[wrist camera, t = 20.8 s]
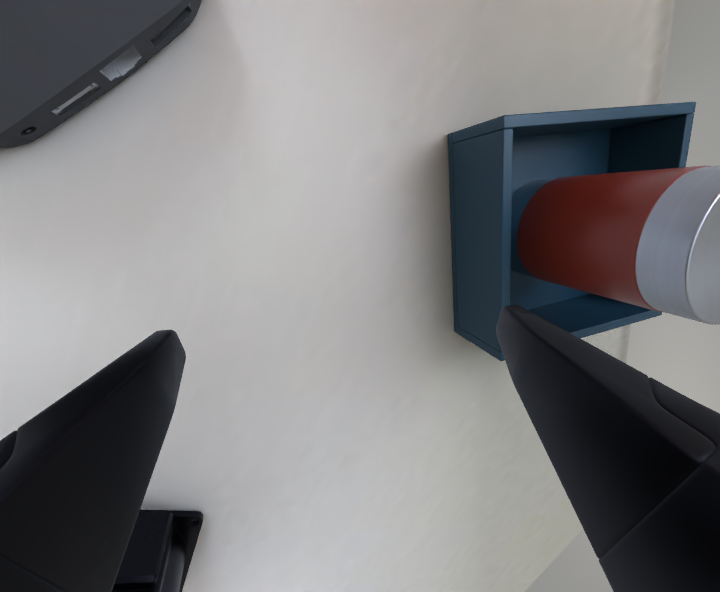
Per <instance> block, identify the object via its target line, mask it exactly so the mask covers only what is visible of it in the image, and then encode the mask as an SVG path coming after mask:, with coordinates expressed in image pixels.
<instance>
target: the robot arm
mask: <svg viewBox="0 0 720 592" xmlns="http://www.w3.org/2000/svg"><path fill="white" fill-rule="evenodd" d="M496 334H497V338H498V341H499V344H500V346H501V349H502V352H503V355H504V358H505V361H506V364H507V367H508V369H509V372H510V375H511V378H512V380H513V383H514V385H515V387H516V390H517V392H518V394H519V396H520V398H521V400H522V402H523V404H524V406H525V408H526V410H527V412H528V415H529V417H530V419H531V421H532V423H533V425H534V427H535V429H536V431H537V433H538V435H539V437H540V439H541V441H542V444H543V446H544V448H545V450H546V452H547V454H548V456H549V458H550V460H551V462H552V464H553V466H554V468H555V471H556V473H557V475H558V477H559V479H560V481H561V483H562V485H563V487H564V489H565V491H566V493H567V495H568V497H569V500H570V502H571V504H572V506H573V508H574V510H575V512H576V514H577V516H578V518H579V520H580V522H581V524H582V526H583V529H584V531H585V533H586V535H587V537H588V539H589V541H590V543H591V545H592V547H593V549H594V551H595V553H596V555H597V557H598V558H599V562H600V564H601V566H602V568H603V571H604V572H605V574H606V577H607V579H608V581H609V583H610V585H611V587H612V589H613V591H614V592H720V414H719V413H717V412H715V411H713V410H711V409H709V408H707V407H705V406H703V405H701V404H699V403H697V402H695V401H693V400H692V399H689V398H688V397H686V396H684V395H682V394H680V393H678V392H676V391H675V390H673V389H671V388H669V387H667V386H665V385H664V384H662V383H660V382H658V381H656V380H654V379H653V378H648V376H647V375H645V374H643V373H642V372H640V371H638V370H636V369H634V368H633V367H631V366H629V365H627V364H625V363H623V362H622V361H620V360H618V359H616V358H614V357H613V356H611V355H609V354H607V353H605V352H603V351H602V350H600V349H598V348H596V347H594V346H593V345H591V344H589V343H587V342H585V341H583V340H582V339H580V338H578V337H576V336H574V335H573V334H571V333H569V332H567V331H565V330H563V329H562V328H560V327H558V326H556V325H554V324H553V323H551V322H549V321H547V320H545V319H543V318H542V317H540V316H538V315H536V314H534V313H533V312H531V311H529V310H527V309H525V308H523V307H522V306H520V305H507V306H504V307H503V308H502V309H501V313H500V316H499V320H498V324H497V328H496ZM185 359H186V355H185V351H184V348H183V346H182V344H181V342H180V340H179V338H178V335H177V334H176V332H175V331H173V330H161V331H156V332H155V333H153V334H152V335H150V336H149V337H148V338H146V339H145V340H143V341H142V342H140V343H139V344H138V345H136V346H135V347H133V348H132V349H130V350H129V351H128V352H126V353H125V354H123V355H122V356H121V357H119V358H118V359H116V360H115V361H113V362H112V363H111V364H109V365H108V366H106V367H105V368H103V369H102V370H101V371H99V372H98V373H96V374H95V375H93V376H92V377H91V378H89V379H88V380H86V381H85V382H83V383H82V384H81V385H79V386H78V387H76V388H75V389H73V390H72V391H71V392H69V393H68V394H66V395H65V396H63V397H62V398H61V399H59V400H58V401H56V402H55V403H53V404H52V405H51V406H49V407H48V408H46V409H45V410H43V411H42V412H41V413H39V414H38V415H36V416H35V417H33V418H32V419H31V420H29V421H28V422H26V423H25V424H24V425H22V426H21V427H19V428H18V431H13V432H12V433H11V434H9V435H8V436H6V437H5V438H3V439H2V440H1V441H0V592H182V589H183V585H184V582H185V579H186V575H187V572H188V569H189V566H190V562H191V559H192V556H193V552H194V549H195V546H196V542H197V539H198V536H199V532H200V529H201V526H202V522H203V514H202V513H201V512H199V511H166V510H140V508H141V505H142V502H143V499H144V496H145V493H146V490H147V487H148V485H149V482H150V479H151V476H152V473H153V470H154V467H155V464H156V462H157V459H158V456H159V453H160V450H161V447H162V444H163V441H164V439H165V436H166V433H167V430H168V427H169V424H170V421H171V418H172V415H173V412H174V409H175V405H176V400H177V396H178V391H179V387H180V382H181V378H182V373H183V369H184V364H185ZM192 520H196V521H192Z"/></svg>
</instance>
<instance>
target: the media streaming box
mask: <svg viewBox="0 0 720 592" xmlns="http://www.w3.org/2000/svg"><path fill="white" fill-rule="evenodd" d="M200 3H201V0H0V148H8V147H15V146H19V145H23V144H26V143H29V142H32V141H34V140H35V139H37V138H39V137H40V136H42V135H44V134H45V133H47V132H48V131H50V130H51V129H53V128H55V127H56V126H58V125H59V124H61V123H62V122H64V121H65V120H67V119H68V118H70V117H71V116H73V115H74V114H76V113H77V112H79V111H80V110H82V109H83V108H85V107H86V106H88V105H89V104H91V103H92V102H93V101H95V100H96V99H98V98H99V97H100V96H102V95H103V94H105V93H106V92H107V91H109V90H110V89H111V88H113V87H114V86H116V85H117V84H118V83H120V82H121V81H122V80H124V79H125V78H126V77H128V76H129V75H130V74H131V73H133V72H134V71H135V70H137V69H138V68H139V67H141V66H142V65H143V64H144V63H146V62H147V61H148V60H149V59H151V58H152V57H153V56H154V55H155V54H157V53H158V52H159V51H160V50H162V49H163V48H164V47H165V46H166V45H168V44H169V43H170V42H171V41H172V40H173V39H175V38H176V37H177V36H178V35H179V34H180V33H181V32H183V31H184V30H185V29H186V28H187V27H188V26H189V25H190V23H191V22H192V21H193V19H194V17H195V15H196V13H197V11H198V9H199V6H200Z"/></svg>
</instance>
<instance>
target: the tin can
mask: <svg viewBox="0 0 720 592" xmlns="http://www.w3.org/2000/svg"><path fill="white" fill-rule="evenodd" d="M510 268H511V269H512V270H514V271H515V272H517V273H520V274H523V275H527V276H531V277H535V278H537V279H540V280H543V281H547V282H550V283H554V284H558V285H561V286H565V287H569V288H573V289H576V290H580V291H584V292H587V293H591V294H595V295H599V296H602V297H606V298H610V299H613V300H617V301H621V302H624V303H628V304H632V305H636V306H639V307H643V308H647V309H650V310H654V311H658V312H666V313H669V314H673V315H677V316H681V317H684V318H688V319H692V320H696V321H699V322H703V323H707V324H720V166H695V167H683V168H670V169H657V170H644V171H631V172H619V173H606V174H593V175H580V176H568V177H560V178H552V179H540V180H535V181H532V182H530V183H528V184H526V185H524V186H523V187H521V188H520V189H519V190H518V191H516V192H515V193H514V194H513V196H512V216H511V267H510Z"/></svg>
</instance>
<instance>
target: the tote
mask: <svg viewBox="0 0 720 592" xmlns="http://www.w3.org/2000/svg"><path fill="white" fill-rule="evenodd" d="M695 106H696V102H685V103H672V104H657V105H643V106H629V107H615V108H601V109H587V110H573V111H559V112H545V113H531V114H517V115H504V116H501V117H498V118H495V119H492V120H489V121H486V122H483V123H480V124H477V125H474V126H471V127H468V128H465V129H462V130H459V131H456V132H454V133H450V134H448V150H449V180H450V210H451V240H452V270H453V300H454V330H455V332H456V333H458V334H459V335H461V336H462V337H464V338H465V339H467V340H468V341H470V342H472V343H473V344H475V345H476V346H478V347H479V348H481V349H483V350H484V351H486V352H487V353H489V354H490V355H492V356H494V357H495V358H497V359H498V360H500V361H503V360H505V358H504V355H503V352H502V349H501V346H500V344H499V341H498V338H497V334H496V328H497V324H498V320H499V316H500V313H501V309H502V308H503V307H504V306H507V305H520V306H522V307H523V308H525V309H527V310H529V311H531V312H533V313H534V314H536V315H538V316H540V317H542V318H543V319H545V320H547V321H549V322H551V323H553V324H554V325H556V326H558V327H560V328H562V329H563V330H565V331H567V332H569V333H571V334H573V335H574V336H576V337H578V338H583V337H586V336H590V335H593V334H597V333H600V332H604V331H607V330H611V329H614V328H618V327H621V326H625V325H628V324H632V323H635V322H639V321H642V320H646V319H649V318H652V317H656V316H659V315H661V314H662V312H658V311H654V310H650V309H647V308H643V307H639V306H636V305H632V304H628V303H624V302H621V301H617V300H613V299H610V298H606V297H602V296H599V295H595V294H591V293H587V292H584V291H580V290H576V289H573V288H569V287H565V286H561V285H558V284H554V283H550V282H547V281H543V280H540V279H537V278H535V277H531V276H527V275H523V274H520V273H517V272H515V271H514V270H512V269H511V268H510V267H511V216H512V196H513V194H514V193H515V192H516V191H518V190H519V189H520V188H521V187H523V186H524V185H526V184H528V183H530V182H532V181H535V180H540V179H552V178H560V177H568V176H580V175H593V174H606V173H619V172H631V171H644V170H657V169H670V168H683V167H686V160H687V155H688V148H689V142H690V136H691V130H692V124H693V118H694V114H693V113H694V112H695Z"/></svg>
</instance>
